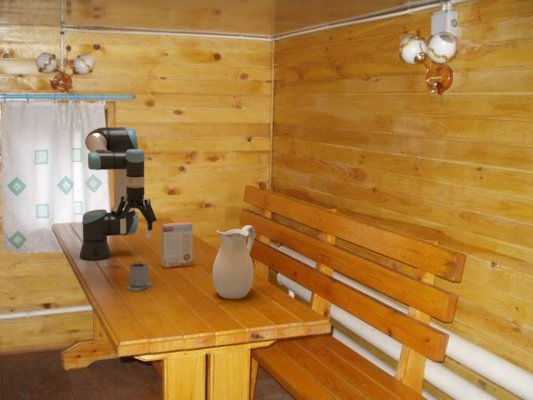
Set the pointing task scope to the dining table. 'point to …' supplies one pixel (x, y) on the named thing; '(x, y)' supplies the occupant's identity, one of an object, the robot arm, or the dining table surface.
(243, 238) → the pitcher
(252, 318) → the dining table surface
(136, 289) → the shaft stand
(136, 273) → the tube
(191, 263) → the cracker box
